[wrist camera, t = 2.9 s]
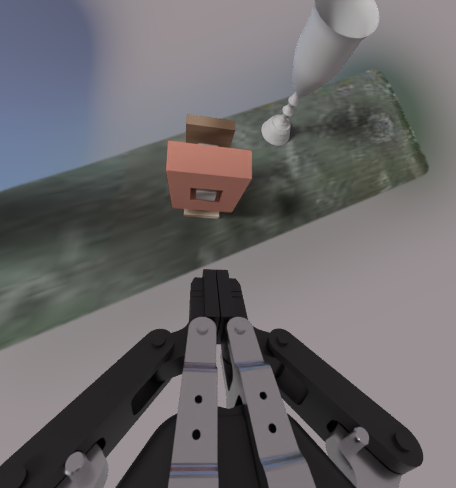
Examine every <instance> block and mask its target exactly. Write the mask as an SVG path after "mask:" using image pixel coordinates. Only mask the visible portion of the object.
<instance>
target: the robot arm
mask: <svg viewBox="0 0 456 488" xmlns="http://www.w3.org/2000/svg"><path fill="white" fill-rule="evenodd" d="M189 310H190V311H189V323H188V324H187V326H186V327H184V328H183V329H181V330H179V331H176V332H173V333H170V332H169V331H167V330H165V329H156V330H153V331H151V332H150V333H148V334H147V335H146V336H145V337H144V338H143V339H142V340H141V341H139V342H138V343H137V344H136V345H135V346H134V347H133V348H132V349H130V350H129V351H128V352H127V353H126V354H125V355H124V356H123V357H122V358H120V359H119V360H118V361H117V362H116V363H115V364H114V365H113V366H111V367H110V368H109V369H108V370H107V371H106V372H105V373H104V374H102V375H101V376H100V377H99V378H98V379H97V380H96V381H95V382H94V383H92V385H90V386H89V387H88V388H87V389H86V390H85V391H83V392H82V393H81V394H80V395H79V396H78V397H77V398H76V399H75V400H73V401H72V402H71V403H70V404H69V405H68V406H67V407H66V408H65V409H63V410H62V411H61V412H60V413H59V414H58V415H57V416H56V417H55V418H53V419H52V420H51V421H50V422H49V423H48V424H47V425H45V427H43V428H42V429H41V430H40V431H39V432H38V433H37V434H36V435H34V436H33V437H32V438H31V439H30V440H29V441H28V442H26V443H25V444H24V445H23V446H22V447H21V448H20V449H19V450H18V451H16V452H15V453H14V454H13V455H12V456H11V457H10V458H9V459H8V460H6V461H5V462H4V463H3V464H2V465H1V466H0V488H103V487H104V485H105V483H106V480H107V476H108V463H107V460H106V457H107V456H108V455H109V453H110V452H111V451H112V450H113V449H114V447H115V446H116V445H117V444H118V443H119V441H120V440H121V439H122V438H123V437H124V435H125V434H126V433H127V432H128V431H129V429H130V428H131V427H132V426H133V425H134V423H135V422H136V421H137V420H138V418H139V417H140V416H141V415H142V414H143V413H144V411H145V410H146V409H147V408H148V407H149V405H150V404H151V403H152V402H153V401H154V399H155V398H156V397H157V396H158V395H159V393H160V392H161V391H162V390H163V388H164V387H165V386H166V385H167V384H168V383H169V381H170V380H171V378H173V377H175V376H178V375H180V374H182V382H181V390H180V398H179V406H178V413H177V414H175V415H173V416H172V417H170V418H169V419H167V420H166V421H165V422H164V423H162V424H161V425H160V426H159V427H158V429H157V430H156V431H155V432H154V434H153V435H152V436H151V438H150V439H149V441H148V442H147V443H146V445H145V446H144V448H143V449H142V451H141V452H140V453H139V455H138V456H137V458H136V459H135V461H134V462H133V463H132V465H131V466H130V468H129V469H128V471H127V472H126V473H125V475H124V476H123V478H122V479H121V480H120V482H119V483H118V485H117V486H116V488H398V487H399V483H400V479H401V476H402V475H403V474H405V473H406V472H408V471H410V470H412V469H414V468H416V467H418V466H420V465H421V464H422V462H423V452H422V449H421V447H420V444H419V443H418V441H417V439H416V438H415V437H414V435H413V434H412V433H411V432H410V431H409V430H408V429H407V428H406V427H404V426H403V425H402V424H401V423H400V422H398V421H397V420H396V419H395V418H394V417H392V416H391V415H390V414H389V413H388V412H386V411H385V410H384V409H383V408H381V407H380V406H379V405H378V404H376V403H375V402H374V401H373V400H372V399H370V398H369V397H368V396H367V395H365V394H364V393H363V392H362V391H361V390H359V389H358V388H357V387H356V386H354V385H353V384H352V383H351V382H349V381H348V380H347V379H346V378H345V377H343V376H342V375H341V374H340V373H338V372H337V371H336V370H335V369H333V368H332V367H331V366H330V365H328V364H327V363H326V362H325V361H324V360H322V359H321V358H320V357H319V356H317V355H316V354H315V353H314V352H313V351H311V350H310V349H309V348H308V347H306V346H305V345H304V344H303V343H302V342H300V341H299V340H298V339H297V338H295V337H294V336H293V335H292V334H291V333H289V332H288V331H286V330H284V329H274V330H272V331H271V332H270V333H269V332H265V331H262V330H259V329H257V328H255V327H254V326H252V324H251V323H250V322H249V321H248V318H247V314H246V309H245V305H244V300H243V295H242V291H241V286H240V284H239V283H238V281H237V280H236V279H232V278H231V279H230V278H229V274H228V270H216V271H215V270H210V269H204V270H203V277H202V278H197V277H195V278H194V279H193V281H192V283H191V291H190V309H189ZM216 344H221V350H222V351H221V356H220V358H221V365H222V371H223V377H224V383H225V389H226V397H227V398H226V408H222V407H218V406H217V377H218V376H217V367H216ZM282 399H283V400H284V401H286V403H287V404H288V405H289V406H291V408H292V409H293V410H294V411H295V412H296V413H297V414H298V415H299V416H300V417H301V418H302V419H303V420H304V421H305V422H306V423H307V424H308V425H309V426H310V427H311V428H312V429H313V430H314V431H315V432H316V433H317V434H318V435H319V436H320V437H321V438H322V439H323V440H324V441H325V442H326V450H327V453H328V456H327V455H326V454H325V452H323V450H322V449H321V448H320V447H319V446H318V445H317V444H316V442H315V441H314V440H313V439H312V438H311V437H310V436H309V435H308V434H307V433H306V431H305V430H304V429H303V428H302V427H301V426H300V425H299V424H298V423H297V422H296V421H295V420H294V419H293V418H292V417H291V416H290V415H289V414H287V413H286V410H285V407H284V404H283V401H282Z"/></svg>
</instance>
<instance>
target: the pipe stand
mask: <svg viewBox="0 0 456 488" xmlns="http://www.w3.org/2000/svg"><path fill="white" fill-rule="evenodd" d="M234 132H235V121H232V120H225V119H218V118H210V117H204V116H197V115H190V114H187V118H186V143H193V144H201V145H209V146H217V147H226V148H230V145H231V142H232V138H233V135H234ZM216 194H217V190H209V189H198V188H196V199H197V200H209V201H214V200H215V197H216ZM184 217H198V218H213V219H218V218H219V211H205V210H192V209H184Z"/></svg>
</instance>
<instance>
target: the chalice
mask: <svg viewBox="0 0 456 488" xmlns="http://www.w3.org/2000/svg"><path fill="white" fill-rule="evenodd" d="M378 22H379V12H378V7H377V6H376V3H375V1H374V0H314V5H313V10H312V12H311V14H310V16H309V18H308V21H307V23H306V25H305V27H304V29H303V32H302V34H301V36H300V39H299V41H298V43H297V45H296V50H295V56H294V62H293V77H292V78H293V79H292V85H293V89H294V91H295V93H294V94H293V95H292V96H290V97H289V104H288V105H287V106H284V107H283V115H275V116H273V117H271V118H270V119H269V120H267V121H266V122H264V124H263V125H262V135H263V137H264V138H265V140H266V141H267V142H269V143H270V144H272V145H276V146H280V145H284V144H285V143H286V142H287V141H288V140H289V137H290V128H291V126H290V122H289V120H288V119H287V118H288V117H289V116H291V115H293V112H294V111H293V107H294V106H297V105H298V104H299V98H300V96H301V95H302V96H306V95H308V94H310V93H312V92H314V91H315V90H317V89H319V88H320V87H322V86H323V85H325V84H326V83H327V82H328V81H330V80H331V79H332V78H333V77H335V76H336V75H337V74H338V73H339V72H340V70H341V69H342V68H343V66H344V65H345V63H346V62H347V60H348V59H349V58H350V56H351V55H352V53H353V52H354V51H355V49H356V48H357V46H358V45H359V43H360V42H361V41H362V40H363V39H364V38H366V37H367V36H369V35H370V34H371V33H373V32H374V31H375V29H376V27H377V26H378Z"/></svg>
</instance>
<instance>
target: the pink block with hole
mask: <svg viewBox="0 0 456 488" xmlns="http://www.w3.org/2000/svg"><path fill="white" fill-rule="evenodd" d="M166 173H167V179H168V185H169V191H170V197H171V203H172V208H178V209H192V210H205V211H219V212H232V211H233V210H234V208H235V206H236V205H237V203H238V201H239V200H240V198H241V196H242V195H243V193H244V191H245V190H246V188H247V186H248V185H249V183H250V181H251V180H252V151H250V150H242V149H234V148H226V147H217V146H209V145H201V144H193V143H185V142H176V141H168V151H167V164H166ZM196 188H198V189H209V190H217V194H216V197H215V200H214V201H209V200H197V199H196Z"/></svg>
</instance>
